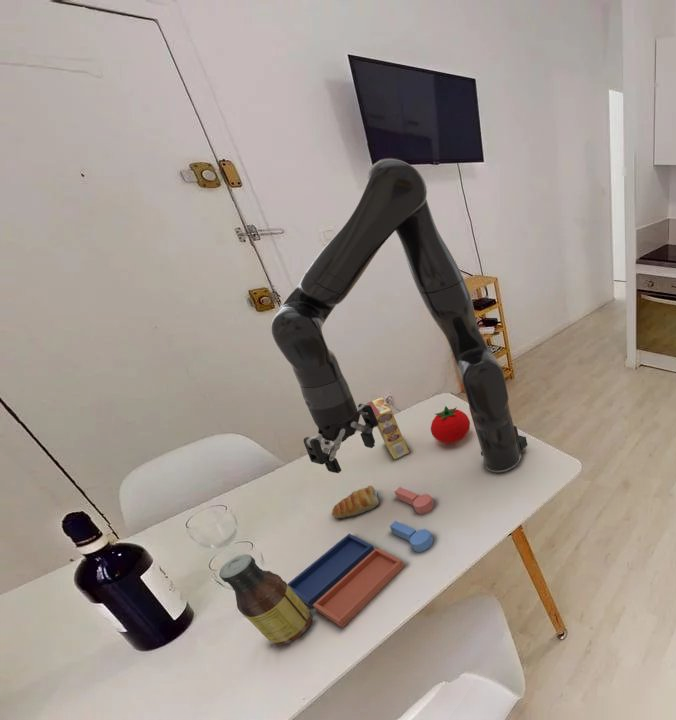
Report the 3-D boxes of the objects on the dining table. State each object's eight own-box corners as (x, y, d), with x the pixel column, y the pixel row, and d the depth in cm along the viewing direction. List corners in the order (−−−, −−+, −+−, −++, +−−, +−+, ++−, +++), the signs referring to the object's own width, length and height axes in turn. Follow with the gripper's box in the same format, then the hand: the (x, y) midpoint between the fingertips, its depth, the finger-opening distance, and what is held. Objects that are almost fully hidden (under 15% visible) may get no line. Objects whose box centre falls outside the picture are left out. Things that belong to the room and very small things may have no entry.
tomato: (436, 454, 115) (426, 426, 110) (435, 433, 123) (425, 406, 118) (475, 443, 118) (466, 415, 113) (471, 423, 127) (463, 397, 122)
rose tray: (379, 553, 88) (376, 547, 87) (404, 566, 85) (401, 560, 84) (316, 611, 77) (312, 605, 76) (342, 628, 75) (338, 622, 74)
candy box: (410, 453, 116) (392, 409, 108) (394, 460, 113) (374, 416, 106) (400, 438, 121) (382, 396, 114) (384, 445, 119) (365, 402, 111)
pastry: (336, 526, 94) (329, 515, 92) (333, 508, 99) (326, 497, 97) (381, 505, 99) (375, 494, 97) (376, 489, 104) (371, 478, 102)
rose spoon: (393, 502, 100) (389, 494, 99) (407, 490, 103) (404, 483, 102) (424, 516, 96) (421, 508, 95) (437, 503, 99) (434, 496, 98)
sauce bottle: (286, 613, 77) (232, 545, 67) (321, 609, 78) (272, 542, 68) (261, 651, 72) (198, 584, 62) (299, 647, 72) (241, 580, 62)
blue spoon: (388, 537, 91) (384, 530, 90) (403, 524, 94) (400, 516, 93) (422, 554, 87) (418, 546, 86) (437, 539, 90) (433, 531, 89)
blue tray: (352, 539, 91) (349, 533, 90) (375, 551, 88) (372, 545, 87) (288, 592, 81) (283, 586, 80) (312, 608, 78) (307, 602, 77)
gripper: (309, 421, 76) (338, 484, 84) (372, 383, 88) (393, 442, 96) (279, 414, 78) (310, 477, 86) (345, 378, 90) (367, 436, 98)
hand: (354, 458), depth 91 cm, fingers open, 8 cm apart
